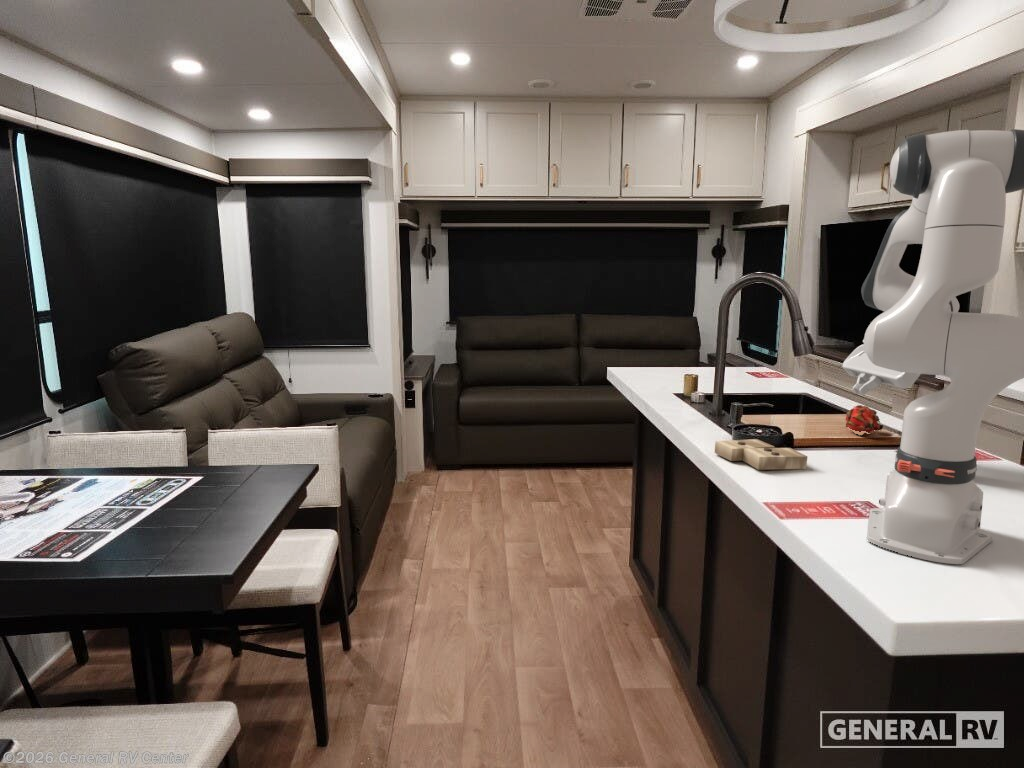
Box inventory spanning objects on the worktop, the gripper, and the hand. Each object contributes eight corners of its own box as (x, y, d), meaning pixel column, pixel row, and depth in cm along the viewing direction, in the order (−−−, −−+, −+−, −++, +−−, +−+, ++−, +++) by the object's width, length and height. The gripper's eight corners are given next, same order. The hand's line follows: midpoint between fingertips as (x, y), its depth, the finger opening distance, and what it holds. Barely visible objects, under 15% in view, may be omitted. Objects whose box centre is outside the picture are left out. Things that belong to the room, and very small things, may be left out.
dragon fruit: (856, 433, 185) (869, 451, 174) (832, 416, 185) (844, 432, 174) (878, 411, 182) (893, 428, 171) (854, 394, 181) (868, 409, 170)
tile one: (756, 437, 164) (715, 439, 161) (775, 445, 157) (732, 447, 154) (755, 451, 165) (714, 453, 161) (773, 459, 158) (730, 462, 155)
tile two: (790, 446, 156) (744, 447, 154) (807, 455, 149) (759, 455, 148) (788, 460, 157) (742, 461, 155) (805, 470, 150) (757, 470, 148)
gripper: (941, 364, 142) (897, 410, 143) (876, 352, 162) (838, 392, 163) (925, 345, 141) (881, 391, 141) (861, 335, 161) (823, 375, 161)
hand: (857, 391), depth 152 cm, fingers closed
